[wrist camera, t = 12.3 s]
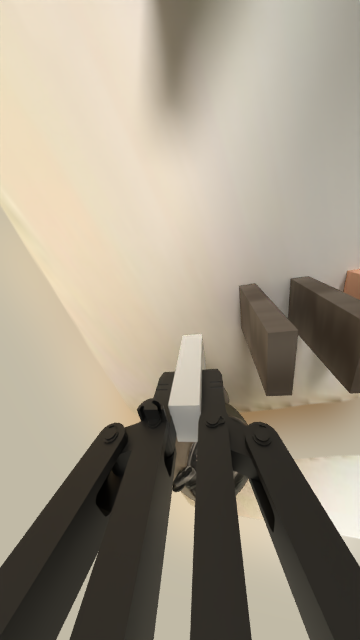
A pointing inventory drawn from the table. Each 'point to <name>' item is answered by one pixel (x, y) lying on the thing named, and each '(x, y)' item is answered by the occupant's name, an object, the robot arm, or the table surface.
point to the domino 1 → (269, 340)
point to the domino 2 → (328, 327)
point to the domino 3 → (353, 283)
